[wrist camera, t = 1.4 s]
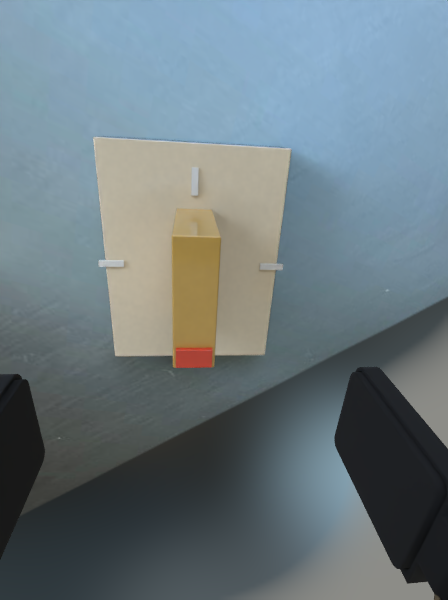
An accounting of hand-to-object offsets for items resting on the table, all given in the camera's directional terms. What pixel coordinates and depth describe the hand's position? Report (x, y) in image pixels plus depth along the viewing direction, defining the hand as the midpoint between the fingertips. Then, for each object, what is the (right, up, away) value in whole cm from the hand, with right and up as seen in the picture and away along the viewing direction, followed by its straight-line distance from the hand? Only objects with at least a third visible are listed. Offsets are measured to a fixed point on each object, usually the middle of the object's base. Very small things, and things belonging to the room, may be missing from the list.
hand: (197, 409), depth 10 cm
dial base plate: (-1, +6, +12) cm, 14 cm away
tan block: (-1, +5, +10) cm, 11 cm away
